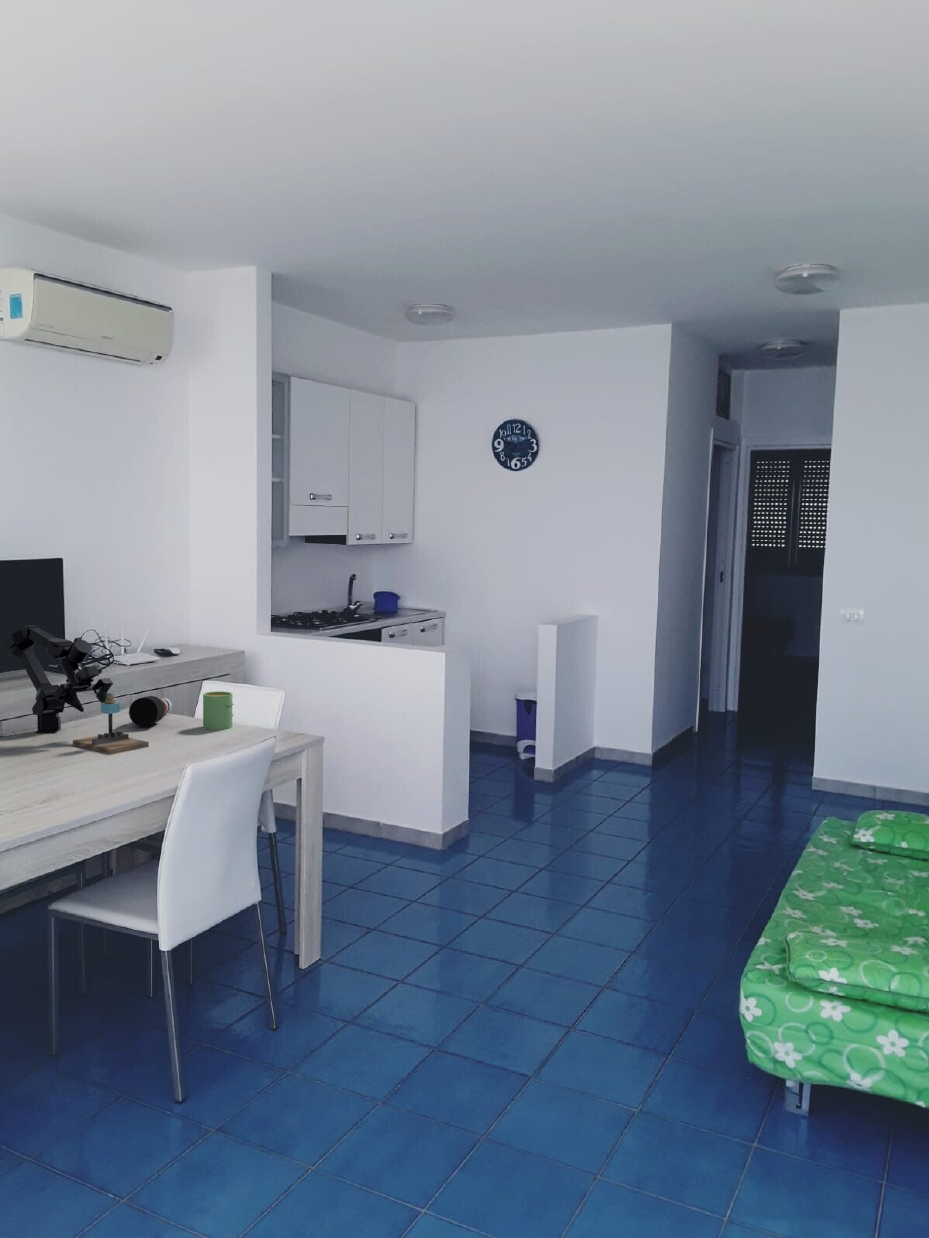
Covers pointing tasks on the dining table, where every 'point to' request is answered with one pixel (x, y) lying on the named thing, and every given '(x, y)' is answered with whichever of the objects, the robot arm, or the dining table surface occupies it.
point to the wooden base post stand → (111, 738)
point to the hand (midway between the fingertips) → (95, 709)
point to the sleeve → (110, 708)
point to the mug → (217, 710)
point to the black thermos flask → (149, 710)
